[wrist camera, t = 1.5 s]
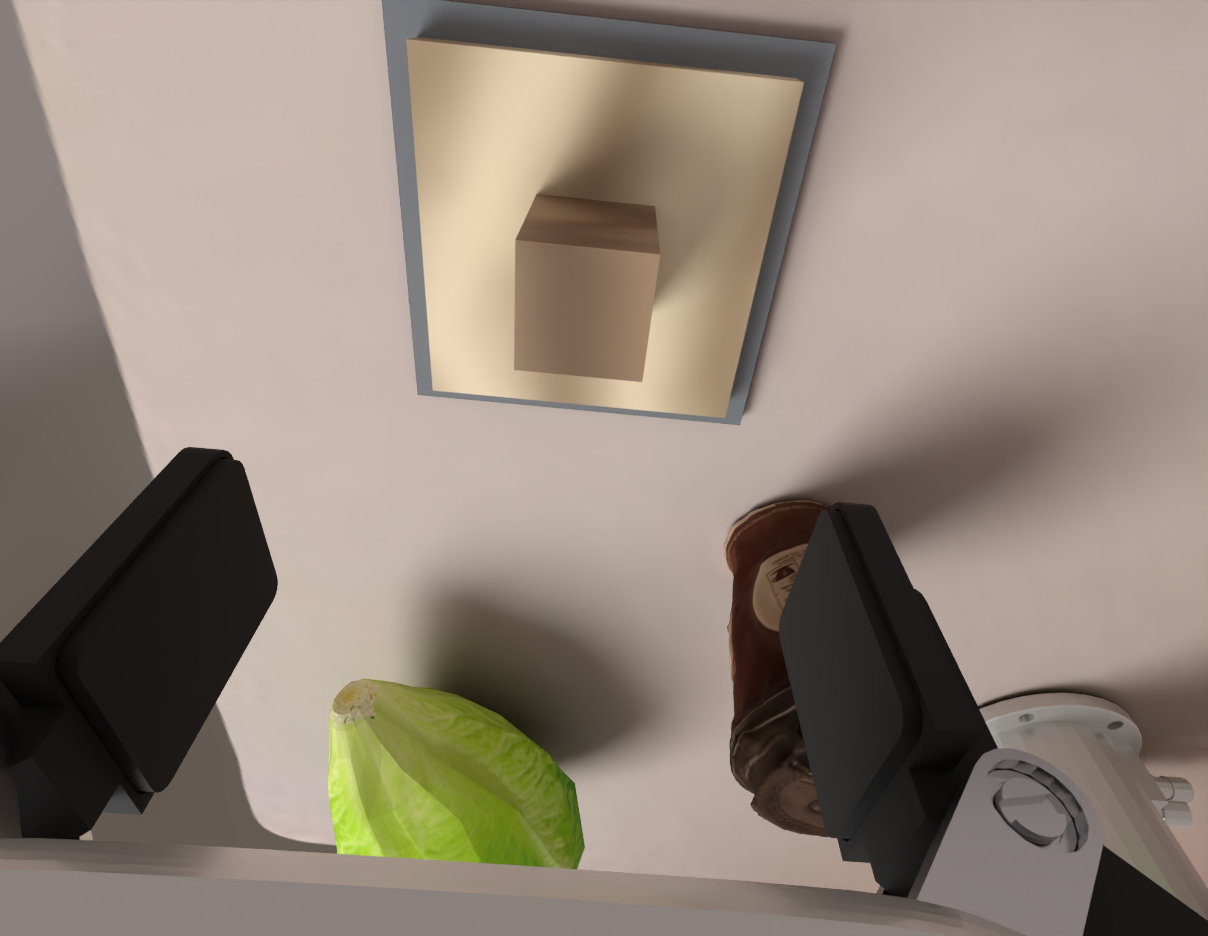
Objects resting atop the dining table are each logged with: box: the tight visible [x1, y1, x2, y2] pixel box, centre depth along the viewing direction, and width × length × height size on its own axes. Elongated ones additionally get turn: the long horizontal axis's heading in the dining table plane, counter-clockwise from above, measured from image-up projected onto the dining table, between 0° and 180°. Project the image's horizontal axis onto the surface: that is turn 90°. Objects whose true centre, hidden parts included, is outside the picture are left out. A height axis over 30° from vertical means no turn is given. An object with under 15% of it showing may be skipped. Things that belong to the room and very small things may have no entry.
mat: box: [382, 0, 836, 425], centre depth 24 cm, size 14×14×1 cm
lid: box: [406, 37, 804, 418], centre depth 22 cm, size 12×12×6 cm
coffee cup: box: [724, 500, 831, 837], centre depth 28 cm, size 9×8×13 cm
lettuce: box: [328, 679, 585, 869], centre depth 38 cm, size 14×20×12 cm
